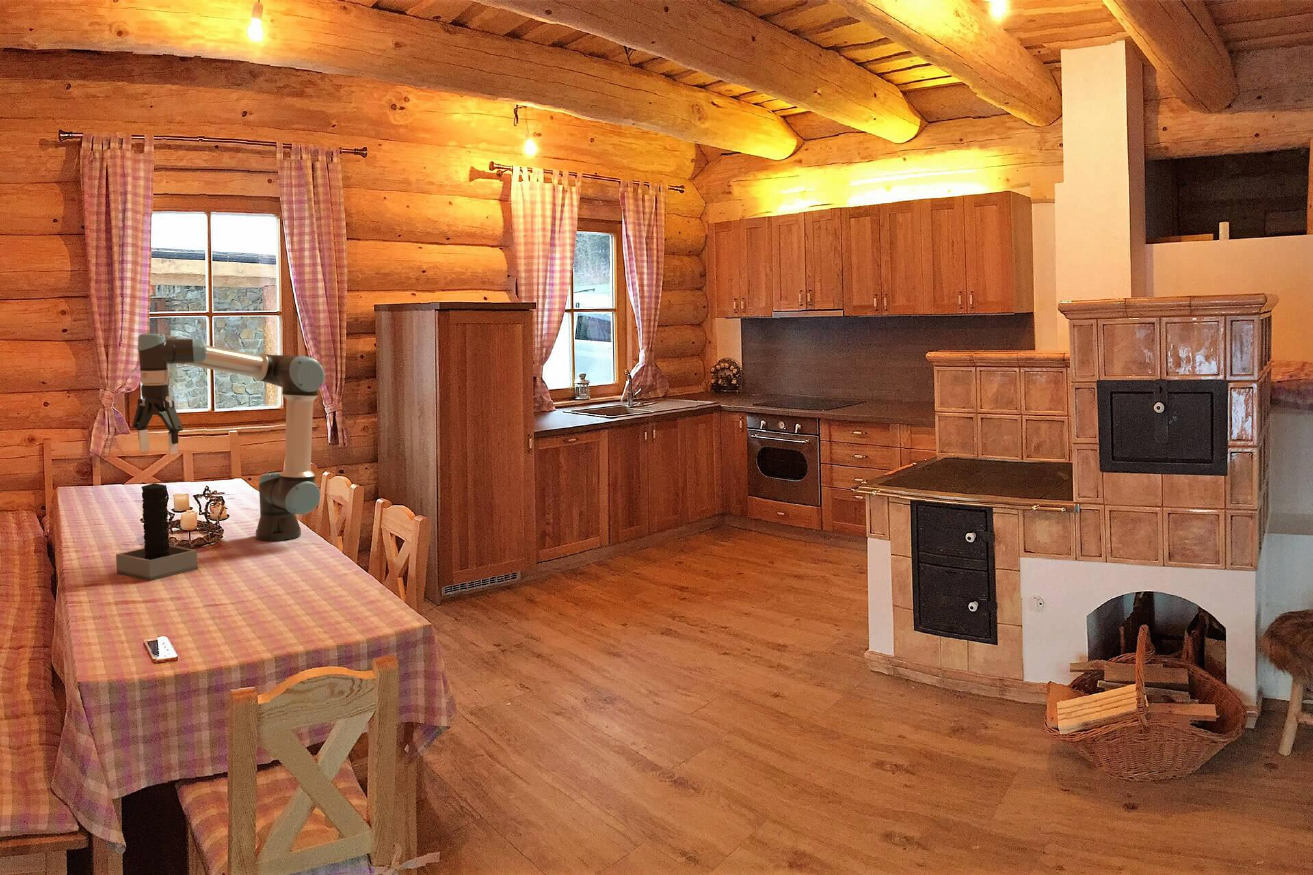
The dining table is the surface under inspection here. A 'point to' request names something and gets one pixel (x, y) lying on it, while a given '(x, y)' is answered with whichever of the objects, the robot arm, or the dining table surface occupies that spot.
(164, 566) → the box
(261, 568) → the dining table surface
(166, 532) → the handle grip
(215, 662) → the dining table surface
